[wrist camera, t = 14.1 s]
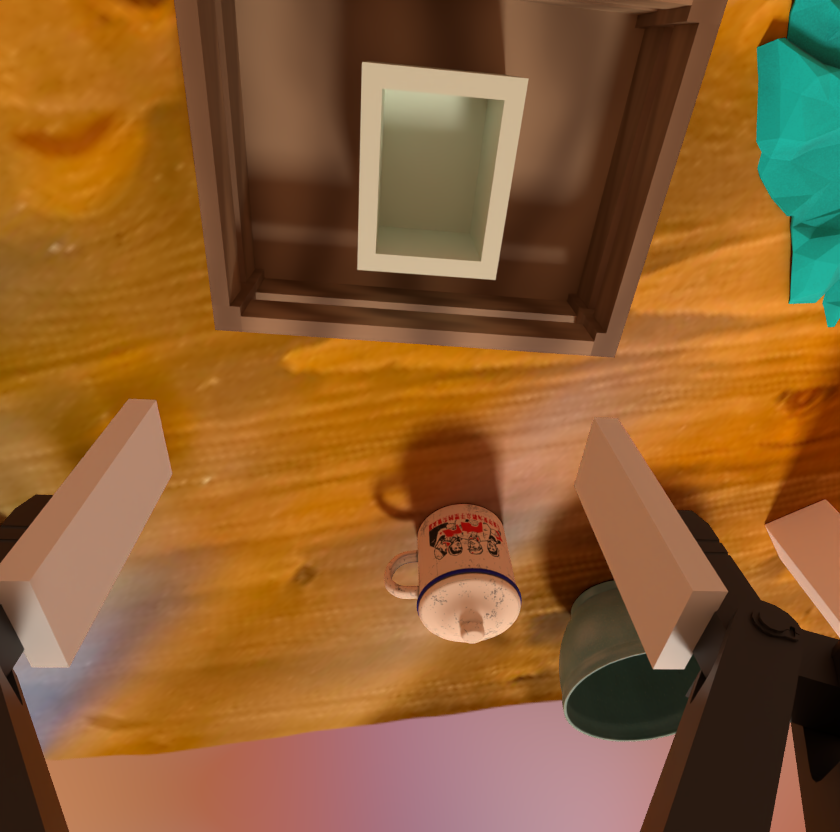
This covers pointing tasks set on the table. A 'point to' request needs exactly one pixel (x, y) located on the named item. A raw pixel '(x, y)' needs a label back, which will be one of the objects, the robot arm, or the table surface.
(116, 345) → the table surface
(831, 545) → the milk
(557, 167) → the crate
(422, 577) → the teacup with lid
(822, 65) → the cloth
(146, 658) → the table surface
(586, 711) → the flower pot
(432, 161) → the small crate
